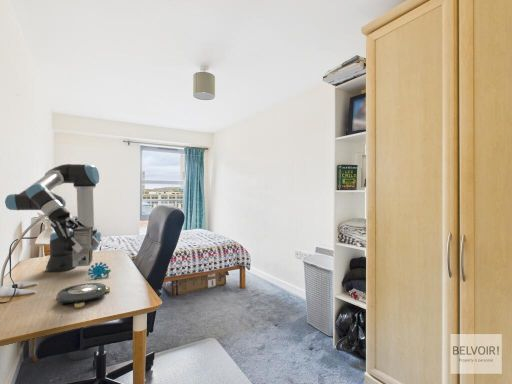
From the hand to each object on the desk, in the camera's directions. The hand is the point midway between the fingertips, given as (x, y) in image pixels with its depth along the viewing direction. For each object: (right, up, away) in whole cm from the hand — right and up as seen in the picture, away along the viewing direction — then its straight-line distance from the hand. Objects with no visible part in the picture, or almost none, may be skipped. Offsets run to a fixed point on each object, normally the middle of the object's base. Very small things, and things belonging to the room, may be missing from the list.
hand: (89, 248), depth 119 cm
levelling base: (-4, -23, 0) cm, 23 cm away
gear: (-14, -23, +31) cm, 41 cm away
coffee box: (-3, -7, 0) cm, 8 cm away
